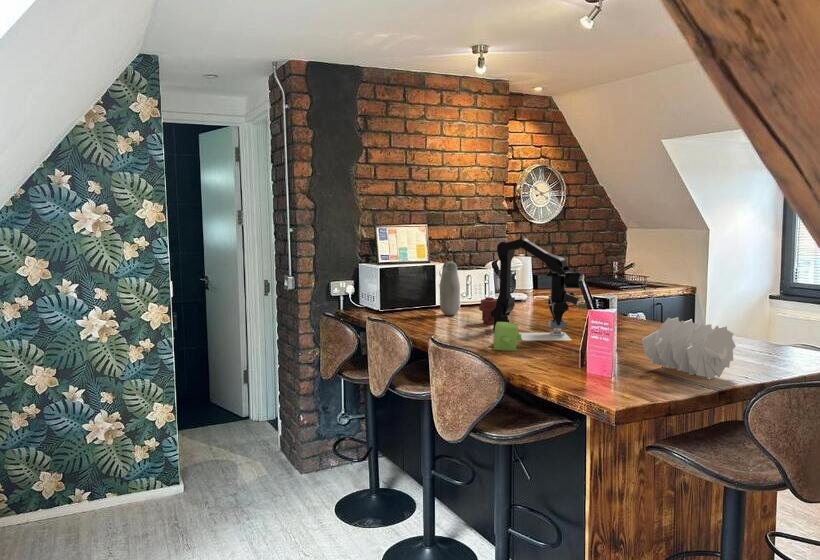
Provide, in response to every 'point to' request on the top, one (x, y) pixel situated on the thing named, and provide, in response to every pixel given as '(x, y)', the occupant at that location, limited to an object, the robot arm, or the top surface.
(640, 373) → the top surface
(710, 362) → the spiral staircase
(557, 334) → the silver domed knob
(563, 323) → the square frame
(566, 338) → the mat
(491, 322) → the mechanical component
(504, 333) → the green pegged block
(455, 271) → the grey bottle
